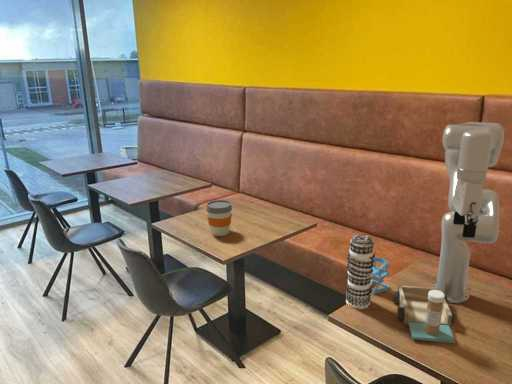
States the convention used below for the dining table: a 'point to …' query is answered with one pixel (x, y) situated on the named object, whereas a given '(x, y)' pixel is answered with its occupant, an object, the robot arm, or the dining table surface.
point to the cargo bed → (418, 304)
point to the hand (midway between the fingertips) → (463, 230)
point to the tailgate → (420, 334)
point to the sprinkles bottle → (434, 311)
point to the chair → (380, 275)
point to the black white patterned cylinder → (360, 271)
